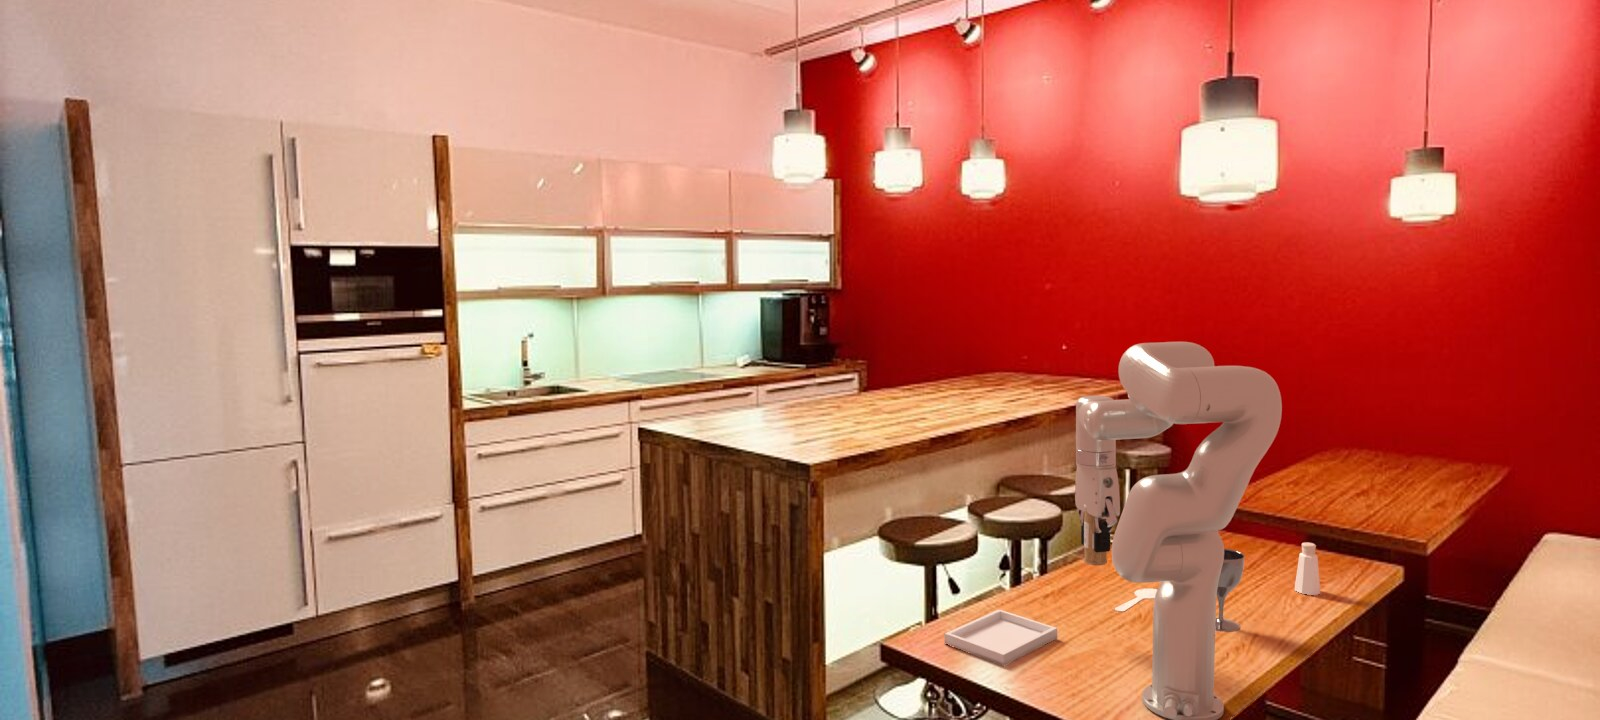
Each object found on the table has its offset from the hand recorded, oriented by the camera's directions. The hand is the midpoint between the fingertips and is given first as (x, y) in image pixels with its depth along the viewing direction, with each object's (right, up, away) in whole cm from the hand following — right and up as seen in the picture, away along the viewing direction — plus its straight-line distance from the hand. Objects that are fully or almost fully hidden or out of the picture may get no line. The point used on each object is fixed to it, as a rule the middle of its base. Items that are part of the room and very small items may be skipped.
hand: (1095, 546), depth 178 cm
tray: (-19, -18, -2) cm, 27 cm away
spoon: (+16, -16, +19) cm, 29 cm away
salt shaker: (+55, -15, +22) cm, 61 cm away
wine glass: (+27, -17, +4) cm, 32 cm away
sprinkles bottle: (0, -3, 0) cm, 3 cm away
